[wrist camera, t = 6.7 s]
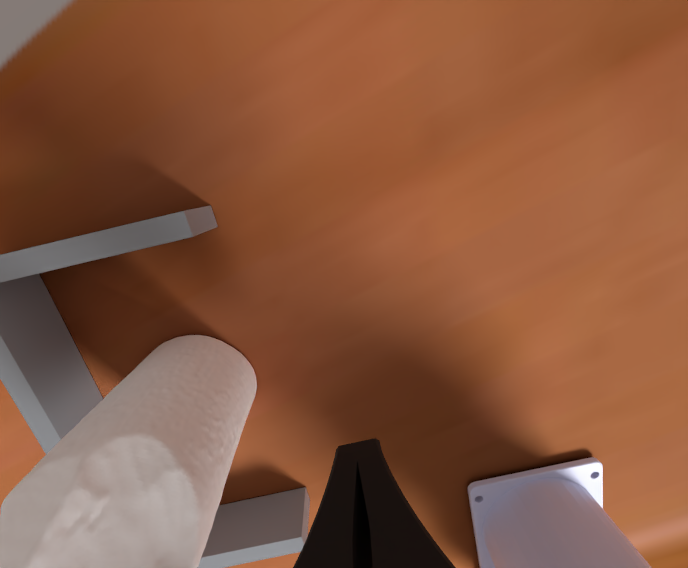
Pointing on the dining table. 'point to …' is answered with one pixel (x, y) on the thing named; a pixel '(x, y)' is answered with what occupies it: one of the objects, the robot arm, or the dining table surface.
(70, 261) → the box
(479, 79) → the dining table surface
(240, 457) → the dining table surface
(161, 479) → the white rounded-top container
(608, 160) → the dining table surface
